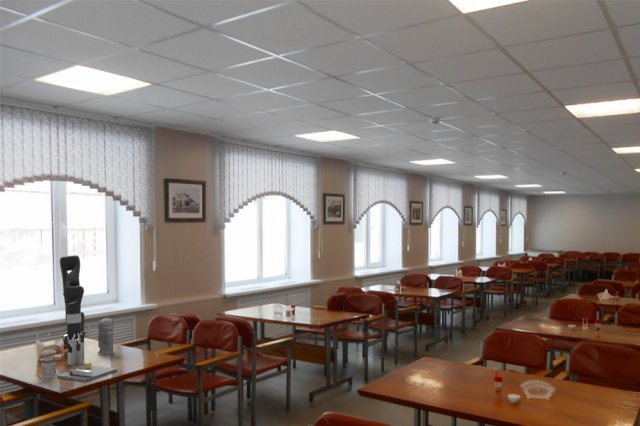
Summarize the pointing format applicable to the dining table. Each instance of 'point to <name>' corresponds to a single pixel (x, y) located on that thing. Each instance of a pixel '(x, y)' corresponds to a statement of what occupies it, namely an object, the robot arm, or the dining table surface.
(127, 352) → the dining table surface
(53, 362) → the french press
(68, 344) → the robot arm
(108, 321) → the figurine
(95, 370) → the jamb plate
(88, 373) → the bar
